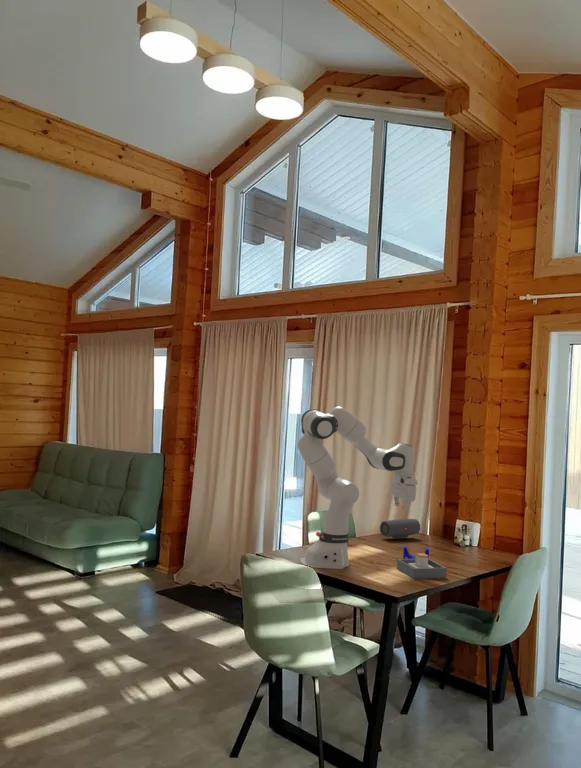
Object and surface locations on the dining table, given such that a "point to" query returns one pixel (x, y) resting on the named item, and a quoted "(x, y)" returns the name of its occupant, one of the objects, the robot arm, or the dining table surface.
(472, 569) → the dining table surface
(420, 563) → the connector
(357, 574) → the dining table surface
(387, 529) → the bluetooth speaker
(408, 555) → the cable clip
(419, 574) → the storage box
